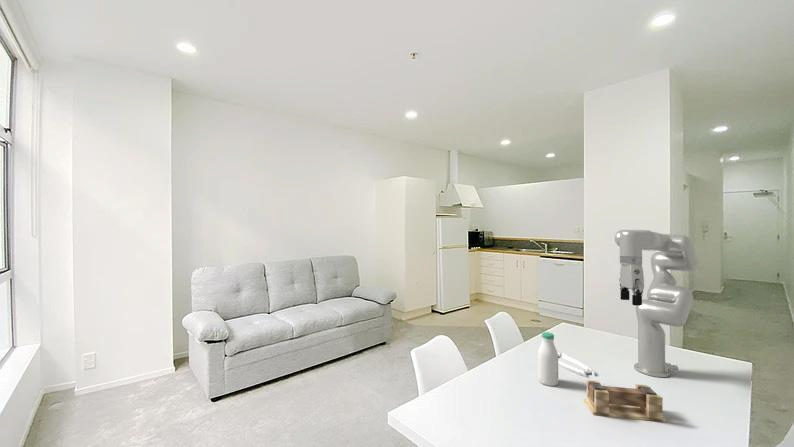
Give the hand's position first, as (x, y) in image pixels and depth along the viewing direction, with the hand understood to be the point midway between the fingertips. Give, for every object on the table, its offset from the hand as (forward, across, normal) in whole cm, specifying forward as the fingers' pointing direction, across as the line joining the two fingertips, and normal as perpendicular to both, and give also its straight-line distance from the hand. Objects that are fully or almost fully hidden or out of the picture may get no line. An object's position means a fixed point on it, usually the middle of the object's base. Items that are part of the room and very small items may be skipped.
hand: (630, 302), depth 135 cm
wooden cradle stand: (+33, -23, +13) cm, 43 cm away
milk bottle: (+34, -5, +33) cm, 47 cm away
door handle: (+34, +15, +19) cm, 42 cm away
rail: (+30, -23, +13) cm, 40 cm away
